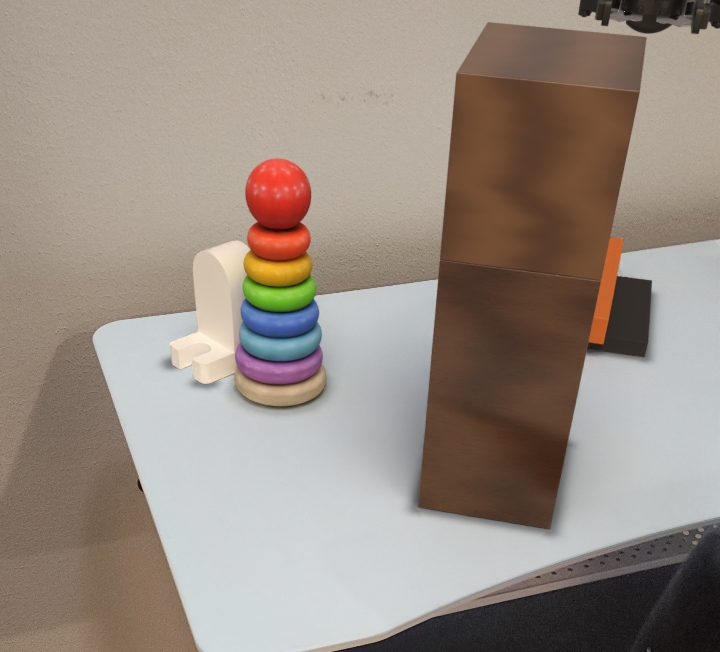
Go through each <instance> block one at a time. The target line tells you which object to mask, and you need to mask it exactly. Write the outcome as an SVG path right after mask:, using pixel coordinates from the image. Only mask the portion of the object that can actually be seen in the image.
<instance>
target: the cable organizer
mask: <svg viewBox="0 0 720 652" xmlns="http://www.w3.org/2000/svg"><path fill="white" fill-rule="evenodd" d="M250 250H251V249H250V247H249V246H248V245H246V244H245V243H244V242H242V241H240V240H236V239H235V240H231V241H228V242H224V243H222V244H221V243H220V244H218V245H215V246H213V247H209V248H206V249H204V250H200V251H199V252H197V253H196V254H195V256H194V258H193V263H192V277H193V278H192V279H193V291H194V301H195V313H196V323H197V331H196V332H193V333H191V334H188V335H185V336H182V337H180V338H177V339H175V340H172V341H170V342H169V351H170V359H171V365H172V366H173V367H174V368H177V369H178V370H183V369H185V368H188V367H190V366H191V367H192V368H191V369H192V379H194V380H195V381H197V382H199V383H201V384H202V385H208V384H212V383H215V382H217V381H219V380H221V379H224V378H226V377H229V376H231V375H233V374H234V375H235V370H236V368H237V364H236V360H235V352H236V349H237V346H238V345H239V343H240V338H239V330H240V326H241V324H242V323H243V320H242V317H241V305H242V303H243V301H244V299H245V298H246V297H245V295H244V293H243V282H244V279H245V277H246V276H247V274H246V272H245V270H244V258H245V256H246V254H247V253H248V252H249V251H250Z"/></svg>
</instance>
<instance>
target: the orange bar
mask: <svg viewBox="0 0 720 652" xmlns="http://www.w3.org/2000/svg"><path fill="white" fill-rule="evenodd" d="M624 243H625V239H624V238H619V237H611V236H610V240H609V245H608V250H607V255H606V260H605V264H604V269H603V274H602V279H601V284H600V289H599V294H598V299H597V303H596V308H595V313H594V318H593V323H592V328H591V333H590V338H589V342H591V343H598V344H604V339H605V335H606V330H607V325H608V321H609V316H610V310H611V305H612V300H613V295H614V290H615V284H616V279H617V276H618V274H619V269H620V263H621V258H622V257H621V256H622V253H623V248H624Z"/></svg>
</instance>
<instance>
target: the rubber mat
mask: <svg viewBox="0 0 720 652" xmlns="http://www.w3.org/2000/svg"><path fill="white" fill-rule="evenodd" d="M652 291H653V280H652V279H644V278H637V277H629V276H622V275H621V276H620V275H617V279H616V284H615V290H614V295H613V300H612V305H611V310H610V316H609V321H608V325H607V330H606V335H605V339H604V344H598V343H591V342H588V347H587V350H592V351H597V352H598V351H599V352H607V353H613V354H619V355H620V354H621V355H628V356H633V357H643V358H645V357H646V354H647V350H648V346H649V337H650V323H651V322H650V320H651V304H652Z"/></svg>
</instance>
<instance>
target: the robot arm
mask: <svg viewBox="0 0 720 652" xmlns="http://www.w3.org/2000/svg"><path fill="white" fill-rule="evenodd" d="M578 5H579V6H578V13H577V15H578V16H580V17H581V18H587V17H590V16H591V15H592V13H595V15H594V20H595V21H600V26H601V27H609V24H610V21H612V22H613V21H614V22H617V23H622V22H624V21H626V23H625V25H626V26H627V27H628V28H630V29H631V30H633V31H634V32H636V33H640V34H645V35H646V34H647V35H650V34H652V35H653V34H657V33H660V32H663V31H665V30H667V29H669V28H670V27H672V26H675V27H677V28H687V27H690V34H692V35H699V34H700V30H707V29H708V26H709V24H710V26H711V27H712V28H714V29H718V30H719V29H720V0H579V4H578ZM624 11H625V12H624Z"/></svg>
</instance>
